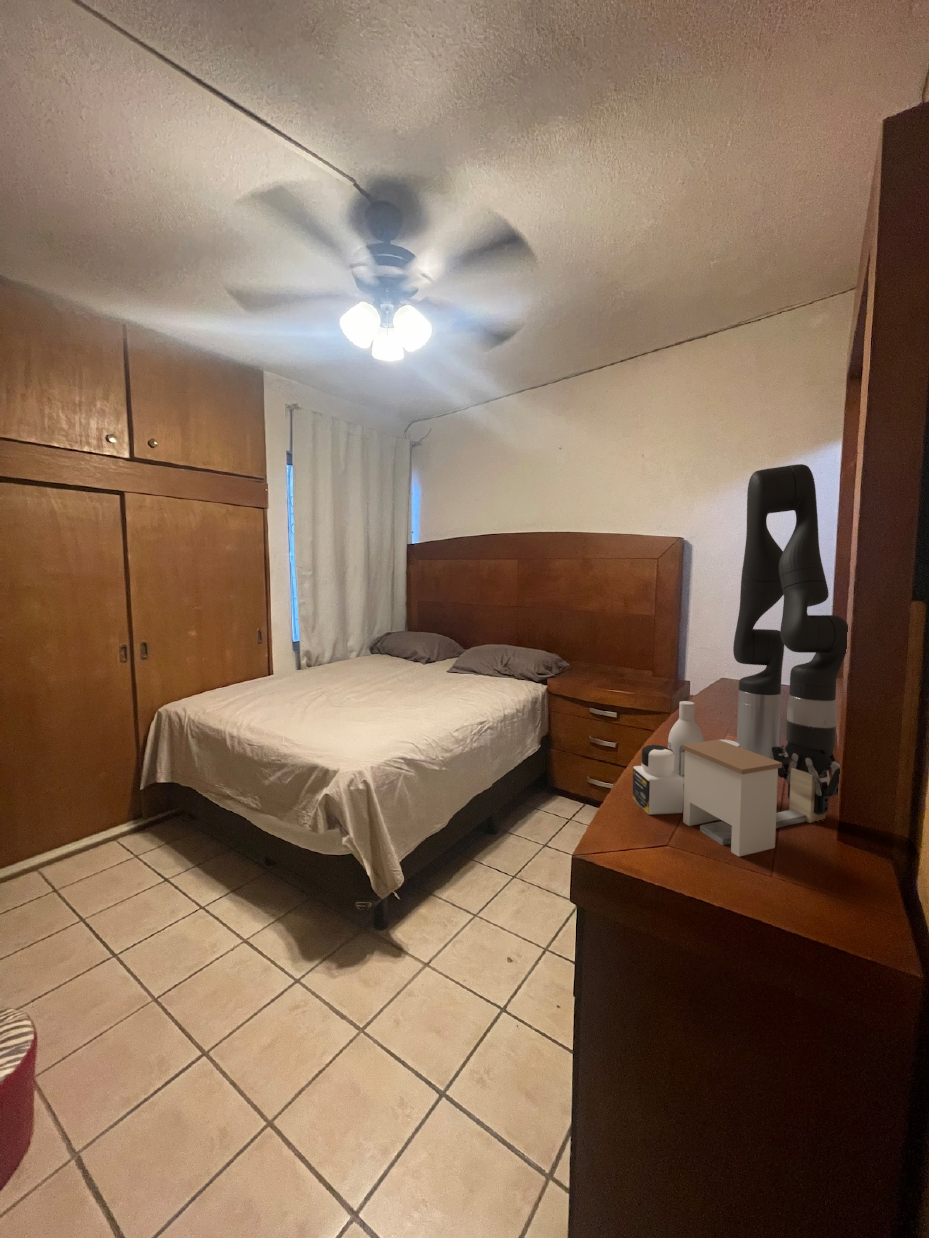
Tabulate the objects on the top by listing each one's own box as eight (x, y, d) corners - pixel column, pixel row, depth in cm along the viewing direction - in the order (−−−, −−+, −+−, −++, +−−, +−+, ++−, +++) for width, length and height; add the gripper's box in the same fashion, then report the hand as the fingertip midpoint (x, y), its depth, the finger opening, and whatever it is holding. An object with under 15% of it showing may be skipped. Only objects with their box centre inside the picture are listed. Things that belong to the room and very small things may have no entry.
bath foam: (710, 798, 98) (713, 704, 96) (687, 805, 95) (690, 708, 93) (682, 786, 104) (684, 697, 103) (659, 792, 101) (661, 700, 100)
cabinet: (716, 814, 91) (718, 739, 90) (778, 848, 79) (782, 762, 78) (679, 821, 88) (681, 744, 87) (739, 858, 76) (742, 769, 75)
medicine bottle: (631, 798, 98) (632, 742, 97) (664, 797, 98) (666, 741, 98) (648, 815, 91) (649, 754, 90) (683, 813, 91) (684, 753, 91)
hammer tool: (803, 810, 92) (805, 765, 92) (824, 819, 89) (827, 773, 88) (742, 823, 87) (743, 776, 87) (762, 834, 84) (763, 785, 83)
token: (721, 828, 86) (722, 821, 86) (745, 842, 82) (745, 834, 81) (699, 833, 85) (700, 825, 85) (722, 847, 80) (722, 839, 80)
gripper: (866, 728, 83) (861, 822, 84) (788, 709, 97) (785, 790, 98) (837, 733, 81) (832, 829, 82) (761, 712, 94) (758, 795, 95)
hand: (807, 807), depth 90 cm, fingers closed on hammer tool, 4 cm apart
